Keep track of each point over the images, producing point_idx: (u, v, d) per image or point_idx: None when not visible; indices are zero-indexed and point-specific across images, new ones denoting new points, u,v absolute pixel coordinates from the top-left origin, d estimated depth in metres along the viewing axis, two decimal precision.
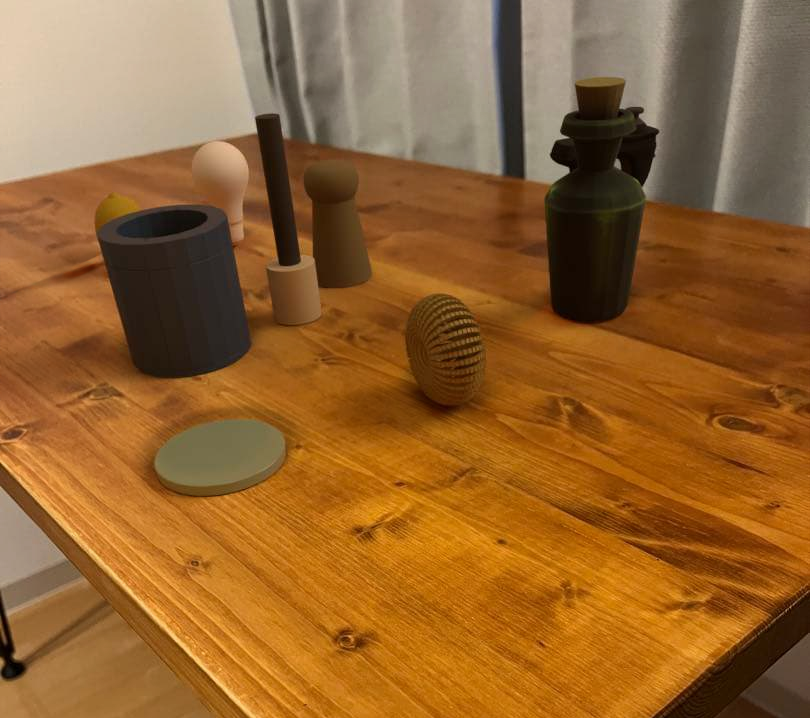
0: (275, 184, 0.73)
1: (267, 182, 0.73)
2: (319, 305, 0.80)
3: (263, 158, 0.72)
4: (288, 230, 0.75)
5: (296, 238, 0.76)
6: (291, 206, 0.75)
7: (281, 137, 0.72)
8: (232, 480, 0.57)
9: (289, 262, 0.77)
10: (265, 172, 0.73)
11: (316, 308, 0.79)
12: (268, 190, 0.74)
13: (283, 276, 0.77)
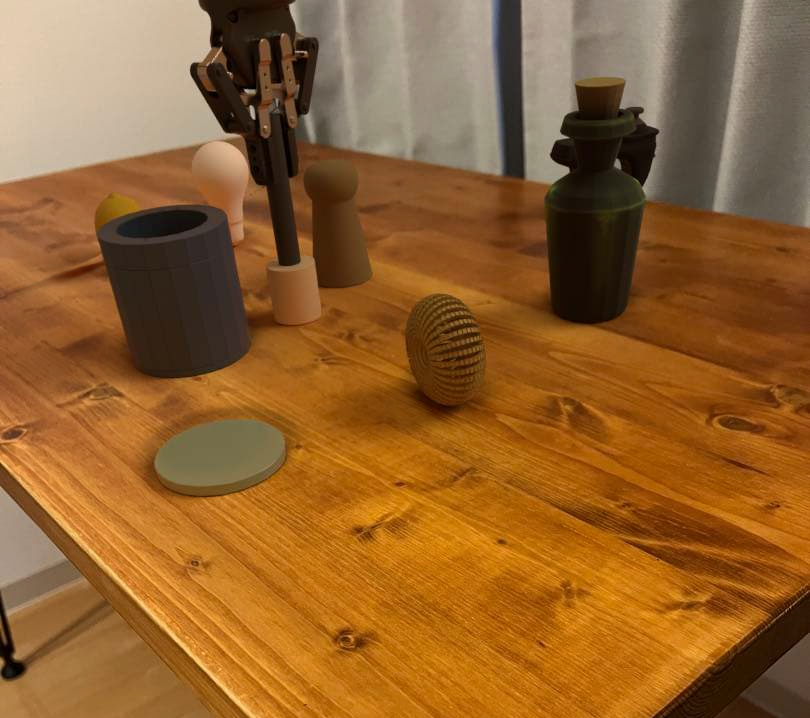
0: None
1: None
2: (319, 305, 0.80)
3: None
4: (288, 230, 0.75)
5: (296, 238, 0.76)
6: (291, 206, 0.75)
7: (281, 137, 0.72)
8: (232, 480, 0.57)
9: (289, 262, 0.77)
10: None
11: (316, 308, 0.79)
12: (268, 190, 0.74)
13: (283, 276, 0.77)
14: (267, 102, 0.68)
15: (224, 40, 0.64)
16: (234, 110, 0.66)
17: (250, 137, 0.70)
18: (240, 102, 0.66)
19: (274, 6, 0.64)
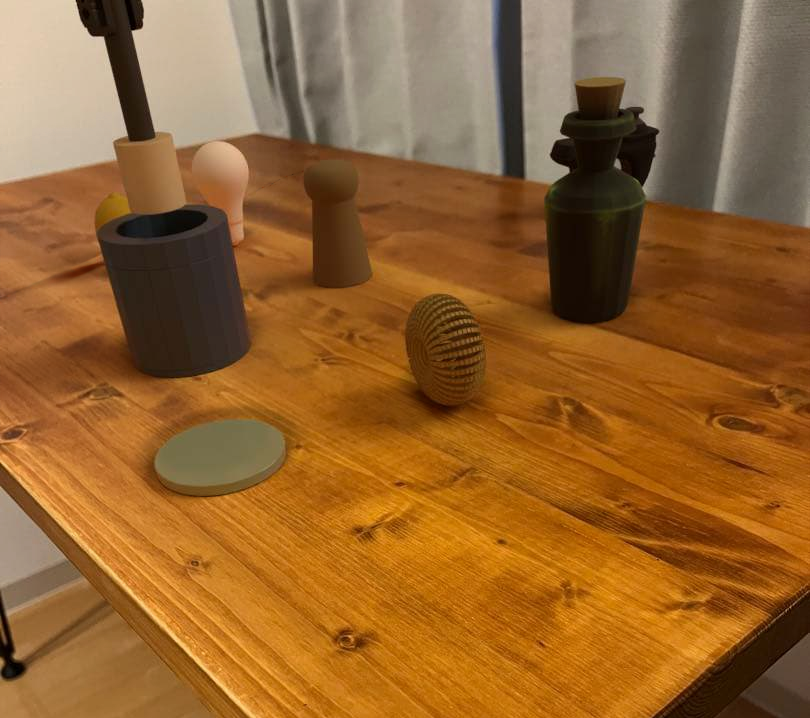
0: (113, 35, 0.61)
1: None
2: (181, 192, 0.68)
3: None
4: (134, 95, 0.63)
5: (146, 107, 0.64)
6: (136, 65, 0.63)
7: None
8: (232, 480, 0.57)
9: (139, 136, 0.65)
10: None
11: (177, 195, 0.67)
12: (106, 44, 0.62)
13: (131, 152, 0.65)
14: None
15: None
16: None
17: None
18: None
19: None
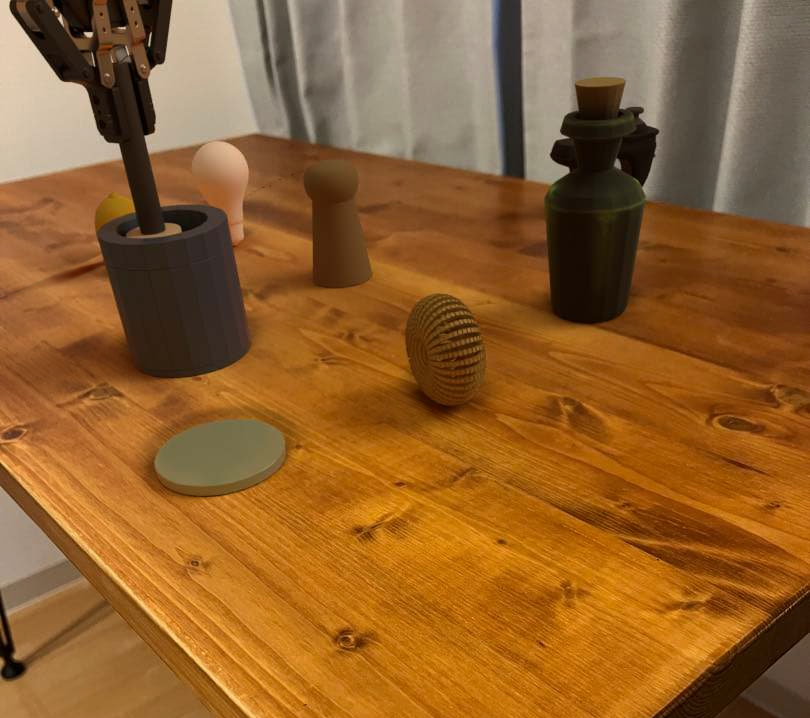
0: (128, 142, 0.66)
1: None
2: None
3: None
4: (146, 194, 0.68)
5: (157, 204, 0.69)
6: (148, 167, 0.67)
7: (131, 88, 0.64)
8: (232, 480, 0.57)
9: (150, 230, 0.70)
10: None
11: None
12: (121, 149, 0.66)
13: None
14: (107, 46, 0.61)
15: None
16: (64, 53, 0.59)
17: (91, 87, 0.62)
18: (71, 44, 0.59)
19: None
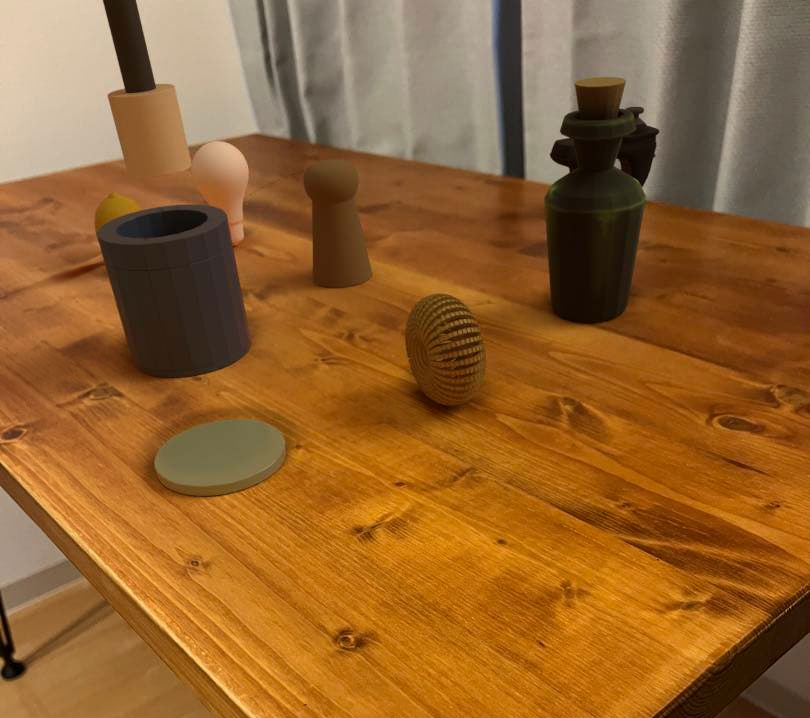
0: None
1: None
2: (186, 152, 0.60)
3: None
4: (131, 38, 0.55)
5: (145, 52, 0.56)
6: (133, 3, 0.55)
7: None
8: (232, 480, 0.57)
9: (137, 87, 0.57)
10: None
11: (181, 155, 0.59)
12: None
13: (128, 104, 0.56)
14: None
15: None
16: None
17: None
18: None
19: None
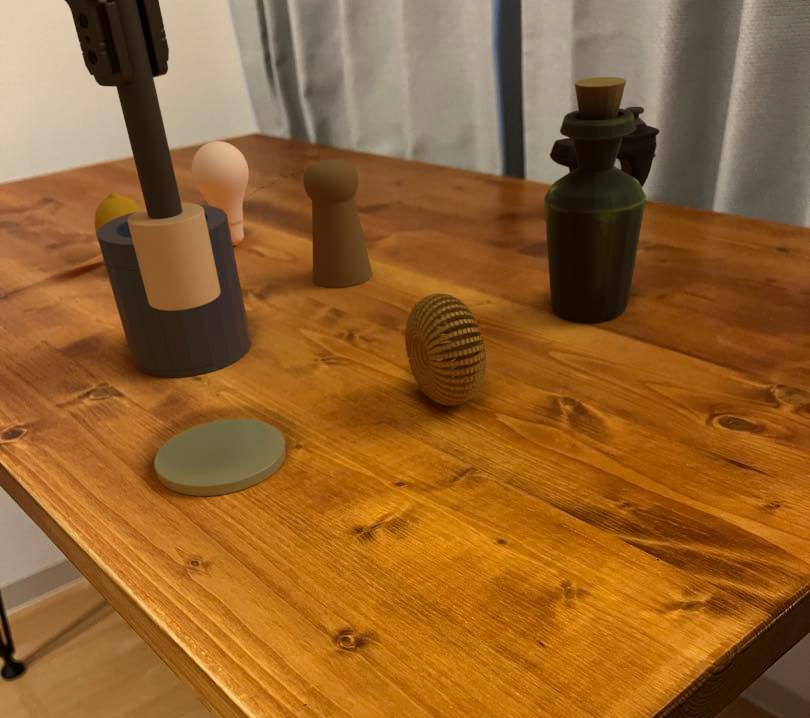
0: (130, 84, 0.46)
1: None
2: (214, 280, 0.53)
3: None
4: (156, 161, 0.48)
5: (171, 175, 0.49)
6: (159, 122, 0.48)
7: (133, 5, 0.44)
8: (232, 480, 0.57)
9: (162, 212, 0.50)
10: None
11: (209, 284, 0.52)
12: (120, 95, 0.47)
13: (151, 233, 0.49)
14: None
15: None
16: None
17: (76, 0, 0.43)
18: None
19: None
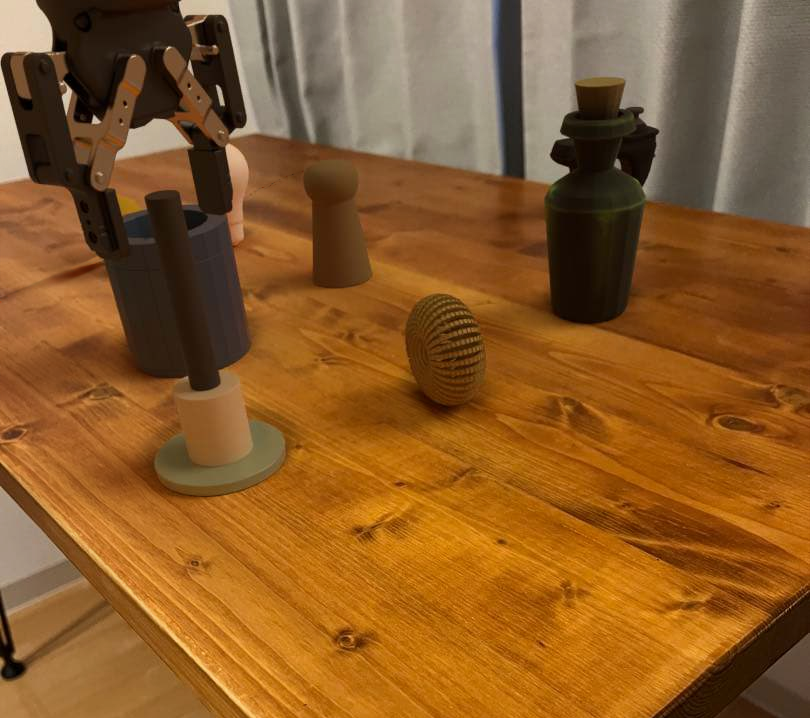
0: (178, 286, 0.52)
1: (167, 284, 0.53)
2: (248, 438, 0.59)
3: (159, 252, 0.51)
4: (199, 345, 0.55)
5: (212, 354, 0.56)
6: (202, 314, 0.54)
7: (183, 223, 0.51)
8: (232, 480, 0.57)
9: (203, 386, 0.56)
10: (163, 270, 0.52)
11: (244, 443, 0.59)
12: (169, 294, 0.53)
13: (194, 406, 0.56)
14: (115, 141, 0.45)
15: (70, 57, 0.43)
16: (50, 134, 0.42)
17: (77, 190, 0.45)
18: (65, 132, 0.43)
19: (145, 6, 0.42)
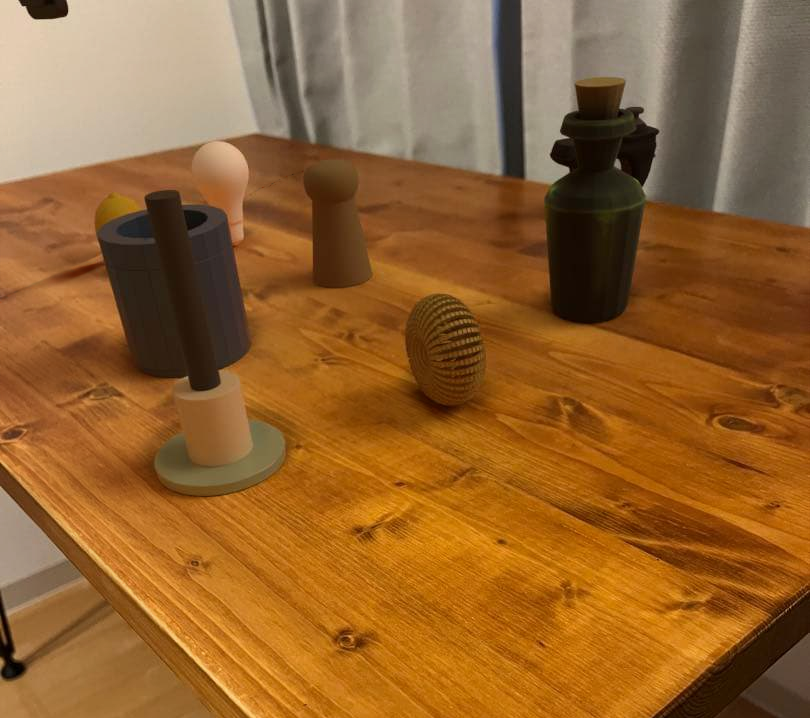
0: (178, 286, 0.52)
1: (167, 284, 0.53)
2: (248, 438, 0.59)
3: (159, 252, 0.51)
4: (199, 345, 0.55)
5: (212, 354, 0.56)
6: (202, 314, 0.54)
7: (183, 223, 0.51)
8: (232, 480, 0.57)
9: (203, 386, 0.56)
10: (163, 270, 0.52)
11: (244, 443, 0.59)
12: (169, 294, 0.53)
13: (194, 406, 0.56)
14: None
15: None
16: None
17: None
18: None
19: None
